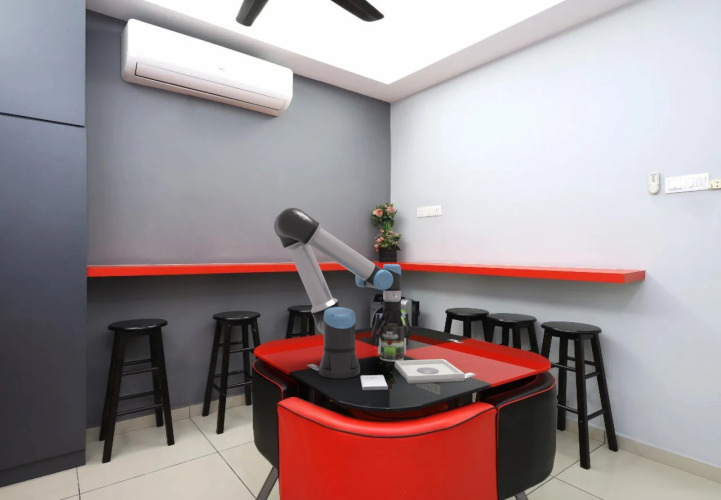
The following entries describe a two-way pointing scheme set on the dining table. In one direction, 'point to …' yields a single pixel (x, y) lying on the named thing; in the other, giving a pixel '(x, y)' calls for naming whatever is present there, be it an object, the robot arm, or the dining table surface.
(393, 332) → the coffee can
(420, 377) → the tray
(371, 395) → the dining table surface
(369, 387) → the external hard drive
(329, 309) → the robot arm
